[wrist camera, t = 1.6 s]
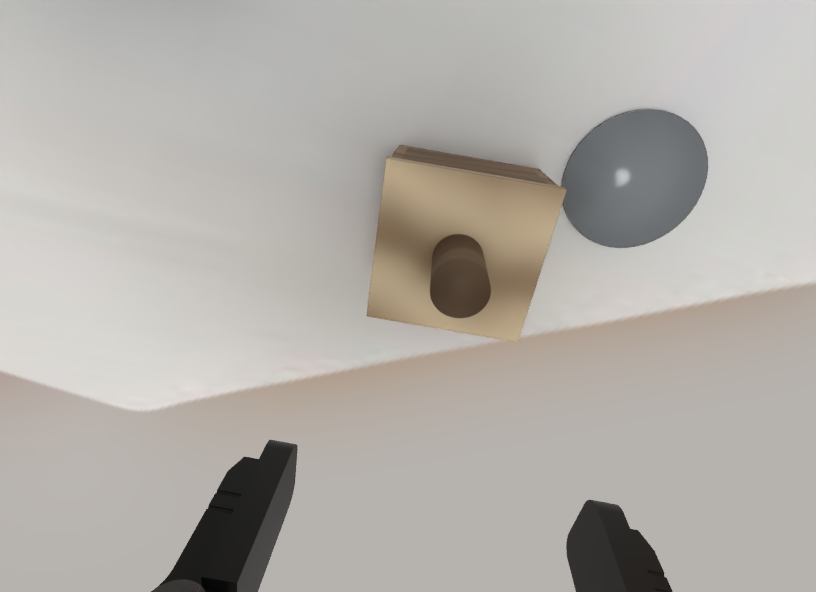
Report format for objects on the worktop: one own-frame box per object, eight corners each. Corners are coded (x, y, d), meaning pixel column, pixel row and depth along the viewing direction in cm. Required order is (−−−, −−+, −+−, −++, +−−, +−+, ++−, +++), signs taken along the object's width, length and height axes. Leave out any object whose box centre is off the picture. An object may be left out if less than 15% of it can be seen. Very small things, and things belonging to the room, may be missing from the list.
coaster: (587, 98, 27) (590, 98, 26) (728, 122, 27) (734, 123, 26) (545, 233, 31) (547, 236, 30) (667, 254, 31) (671, 257, 30)
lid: (390, 153, 24) (373, 174, 19) (558, 183, 24) (592, 212, 19) (370, 303, 29) (352, 356, 23) (513, 327, 29) (530, 386, 23)
